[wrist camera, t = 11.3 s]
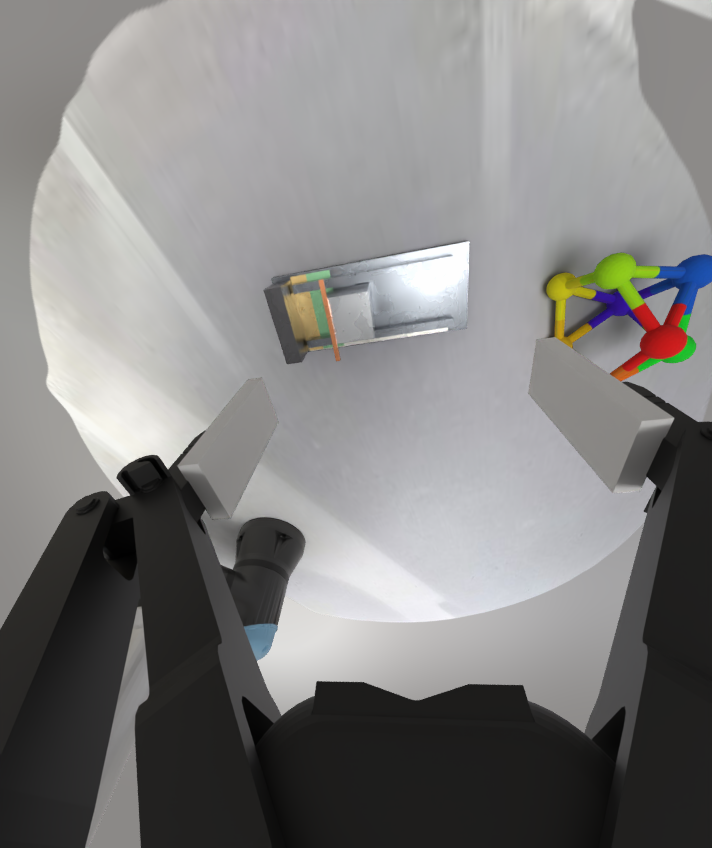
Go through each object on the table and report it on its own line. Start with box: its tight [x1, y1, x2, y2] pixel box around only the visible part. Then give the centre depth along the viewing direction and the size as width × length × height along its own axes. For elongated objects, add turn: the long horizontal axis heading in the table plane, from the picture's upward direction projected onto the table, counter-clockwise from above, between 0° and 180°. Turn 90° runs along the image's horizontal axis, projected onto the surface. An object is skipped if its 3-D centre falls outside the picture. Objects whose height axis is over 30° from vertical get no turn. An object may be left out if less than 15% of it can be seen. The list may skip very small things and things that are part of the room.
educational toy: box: [546, 253, 712, 381], centre depth 33 cm, size 16×13×15 cm
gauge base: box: [264, 241, 469, 364], centre depth 38 cm, size 24×10×6 cm, turn 100°
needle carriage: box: [318, 279, 375, 361], centre depth 37 cm, size 5×9×6 cm, turn 10°
